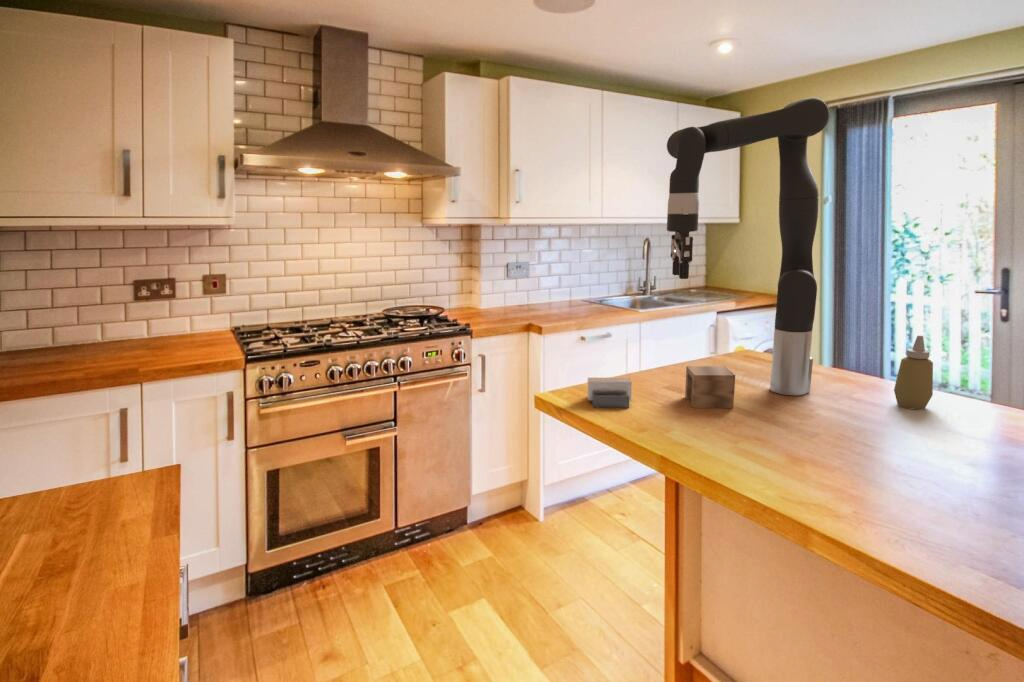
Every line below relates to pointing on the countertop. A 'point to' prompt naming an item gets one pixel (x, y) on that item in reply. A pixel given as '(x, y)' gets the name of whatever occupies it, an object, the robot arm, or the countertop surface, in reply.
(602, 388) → the shiny metal block
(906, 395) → the squeeze bottle
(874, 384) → the countertop surface
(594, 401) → the grey channel block
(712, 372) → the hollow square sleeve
